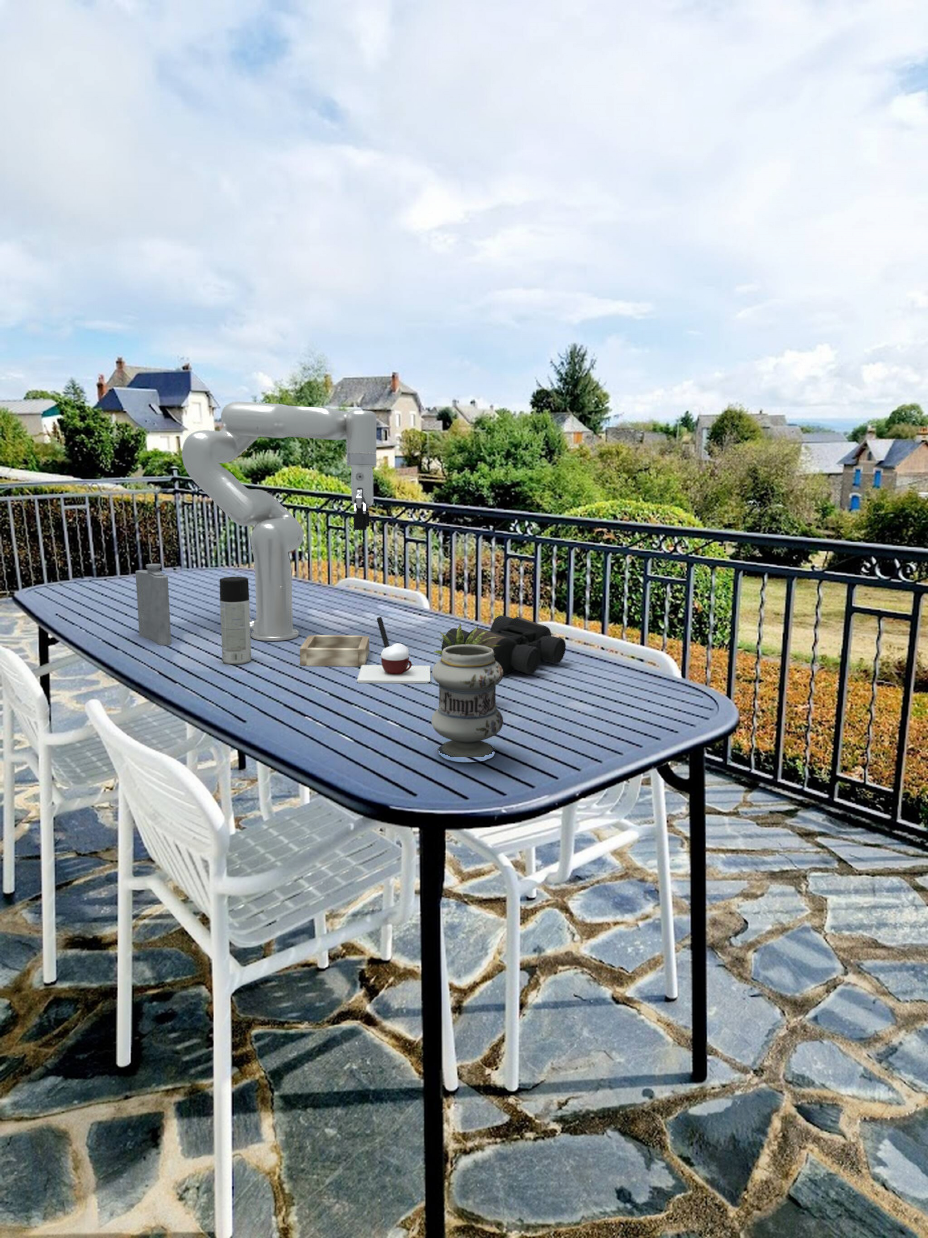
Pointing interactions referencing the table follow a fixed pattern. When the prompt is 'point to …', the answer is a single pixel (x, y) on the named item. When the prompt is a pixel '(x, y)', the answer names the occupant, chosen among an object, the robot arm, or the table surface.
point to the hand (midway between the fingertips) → (361, 528)
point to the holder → (334, 650)
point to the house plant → (460, 639)
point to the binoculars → (517, 643)
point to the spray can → (235, 620)
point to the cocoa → (393, 654)
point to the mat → (380, 676)
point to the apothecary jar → (467, 700)
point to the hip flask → (153, 604)
